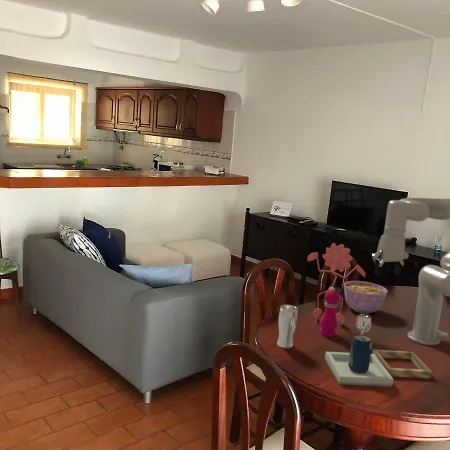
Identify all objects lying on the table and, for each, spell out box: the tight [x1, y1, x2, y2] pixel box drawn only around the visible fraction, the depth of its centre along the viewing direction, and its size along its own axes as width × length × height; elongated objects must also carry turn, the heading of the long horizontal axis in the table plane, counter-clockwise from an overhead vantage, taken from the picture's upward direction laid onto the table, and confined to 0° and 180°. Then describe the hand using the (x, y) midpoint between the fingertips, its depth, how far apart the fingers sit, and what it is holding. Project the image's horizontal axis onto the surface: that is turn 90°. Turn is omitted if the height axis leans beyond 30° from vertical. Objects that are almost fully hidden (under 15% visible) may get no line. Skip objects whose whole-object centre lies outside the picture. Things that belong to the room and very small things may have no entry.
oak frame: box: [371, 349, 433, 379], centre depth 174 cm, size 15×15×2 cm
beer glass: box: [276, 304, 299, 349], centre depth 183 cm, size 7×7×15 cm
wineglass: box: [355, 313, 372, 335], centre depth 189 cm, size 6×6×12 cm
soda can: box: [348, 333, 373, 374], centre depth 166 cm, size 7×7×12 cm
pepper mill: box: [319, 286, 341, 338], centre depth 197 cm, size 7×7×20 cm
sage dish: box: [324, 351, 394, 388], centre depth 167 cm, size 18×18×3 cm
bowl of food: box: [343, 280, 388, 315], centre depth 229 cm, size 20×20×12 cm
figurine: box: [306, 242, 366, 326], centre depth 211 cm, size 15×26×35 cm, turn 65°
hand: (387, 275), depth 189 cm, fingers open, 9 cm apart
